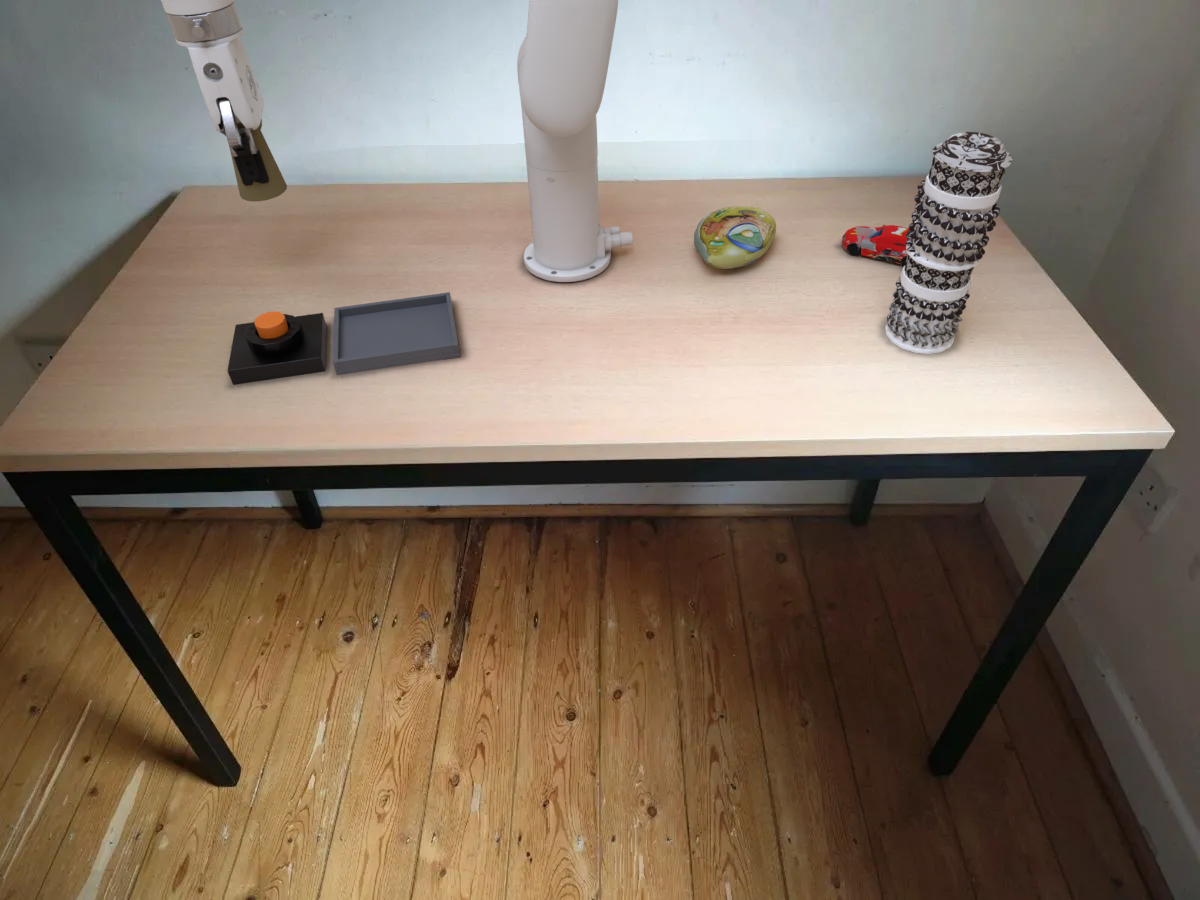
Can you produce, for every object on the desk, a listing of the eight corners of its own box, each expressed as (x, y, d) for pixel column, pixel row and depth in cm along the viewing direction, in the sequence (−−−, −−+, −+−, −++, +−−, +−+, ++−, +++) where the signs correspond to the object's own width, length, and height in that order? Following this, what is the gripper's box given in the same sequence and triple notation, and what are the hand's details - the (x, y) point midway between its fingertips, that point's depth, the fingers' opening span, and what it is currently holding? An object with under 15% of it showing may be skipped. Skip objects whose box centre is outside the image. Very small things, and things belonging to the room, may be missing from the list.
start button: (289, 321, 105) (285, 309, 104) (287, 337, 102) (283, 325, 101) (259, 325, 104) (255, 313, 103) (257, 341, 102) (253, 329, 101)
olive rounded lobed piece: (273, 202, 107) (244, 116, 99) (231, 200, 108) (199, 115, 100) (295, 181, 111) (268, 97, 103) (254, 179, 112) (225, 96, 105)
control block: (327, 326, 110) (319, 300, 107) (325, 371, 103) (317, 345, 100) (240, 338, 109) (230, 312, 106) (233, 385, 101) (222, 358, 99)
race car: (835, 252, 121) (840, 227, 118) (847, 236, 124) (852, 211, 121) (927, 274, 116) (934, 249, 113) (937, 257, 119) (944, 231, 116)
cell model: (794, 223, 122) (759, 230, 110) (770, 271, 126) (734, 283, 114) (732, 190, 125) (692, 193, 113) (710, 238, 129) (669, 246, 117)
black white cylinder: (866, 324, 108) (911, 133, 90) (924, 306, 110) (979, 118, 93) (912, 363, 101) (970, 166, 84) (972, 344, 104) (1041, 149, 87)
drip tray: (451, 304, 113) (449, 291, 112) (460, 357, 104) (458, 344, 103) (337, 320, 111) (334, 307, 110) (336, 375, 102) (332, 362, 101)
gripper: (231, 42, 90) (284, 200, 102) (246, -1, 102) (291, 145, 114) (159, 50, 89) (221, 209, 102) (182, 6, 101) (235, 152, 114)
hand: (258, 173), depth 108 cm, fingers closed on olive rounded lobed piece, 4 cm apart
